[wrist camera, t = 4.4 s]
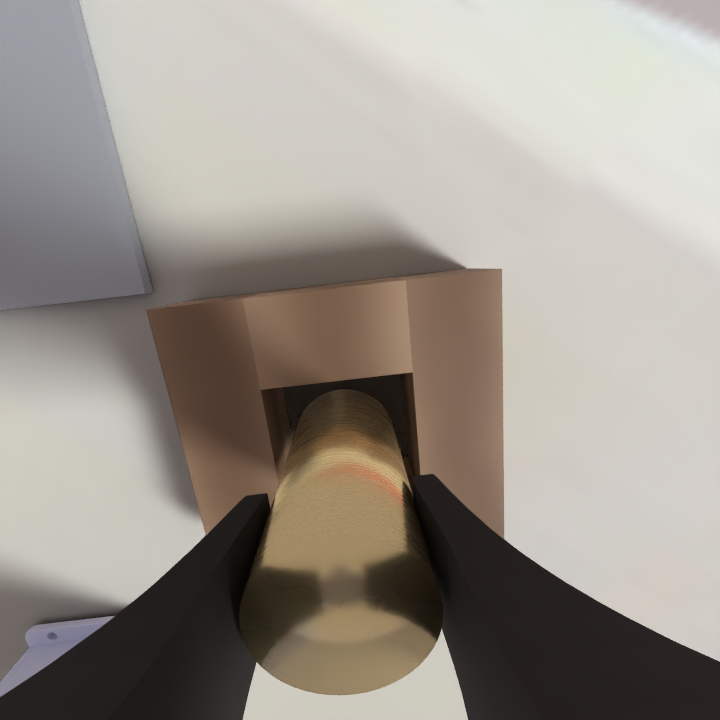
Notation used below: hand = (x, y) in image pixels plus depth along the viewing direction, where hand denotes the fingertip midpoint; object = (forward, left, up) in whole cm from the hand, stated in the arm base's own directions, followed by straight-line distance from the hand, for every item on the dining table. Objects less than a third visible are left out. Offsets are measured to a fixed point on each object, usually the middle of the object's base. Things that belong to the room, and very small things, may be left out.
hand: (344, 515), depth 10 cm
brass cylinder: (0, 0, -5) cm, 5 cm away
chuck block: (0, 0, -7) cm, 7 cm away
